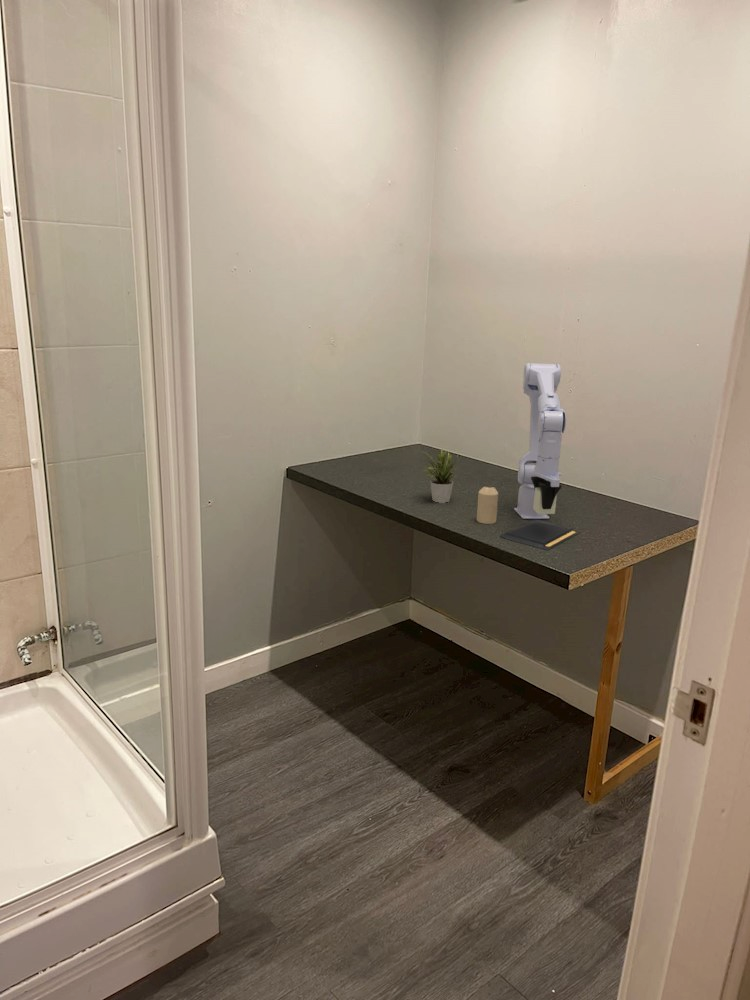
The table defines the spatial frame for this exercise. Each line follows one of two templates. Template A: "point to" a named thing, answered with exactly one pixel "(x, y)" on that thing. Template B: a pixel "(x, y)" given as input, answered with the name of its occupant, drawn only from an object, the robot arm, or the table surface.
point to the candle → (487, 505)
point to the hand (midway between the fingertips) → (543, 506)
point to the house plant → (441, 478)
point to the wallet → (540, 534)
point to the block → (538, 503)
